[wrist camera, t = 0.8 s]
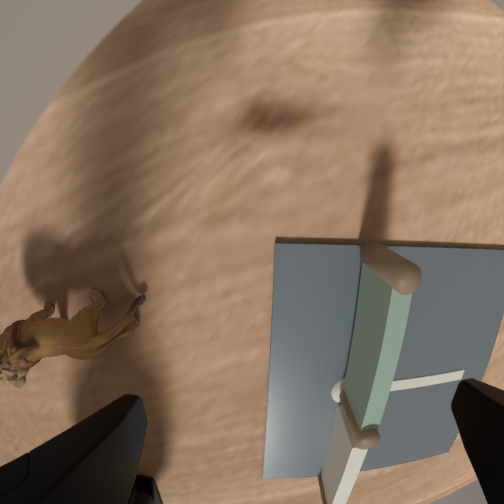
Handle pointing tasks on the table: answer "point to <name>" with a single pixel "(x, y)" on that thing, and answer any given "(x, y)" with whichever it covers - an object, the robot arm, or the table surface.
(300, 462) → the card
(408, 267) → the fence panel
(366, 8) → the table surface
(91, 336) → the lion figurine
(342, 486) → the fixed fence
